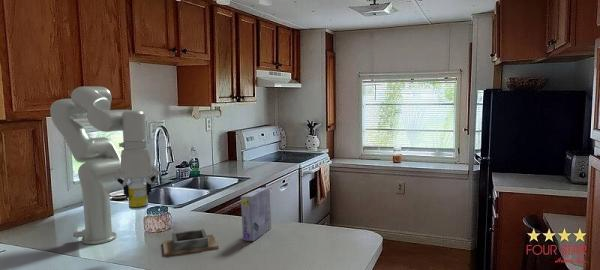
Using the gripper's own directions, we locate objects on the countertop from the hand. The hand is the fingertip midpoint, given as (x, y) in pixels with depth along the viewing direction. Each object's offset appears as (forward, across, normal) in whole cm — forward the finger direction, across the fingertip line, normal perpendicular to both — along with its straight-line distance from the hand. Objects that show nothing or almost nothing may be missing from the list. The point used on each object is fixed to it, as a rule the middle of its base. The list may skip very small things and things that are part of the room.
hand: (137, 195), depth 153 cm
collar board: (+21, +17, 0) cm, 27 cm away
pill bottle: (+5, 0, 0) cm, 5 cm away
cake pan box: (+21, +44, +3) cm, 49 cm away
